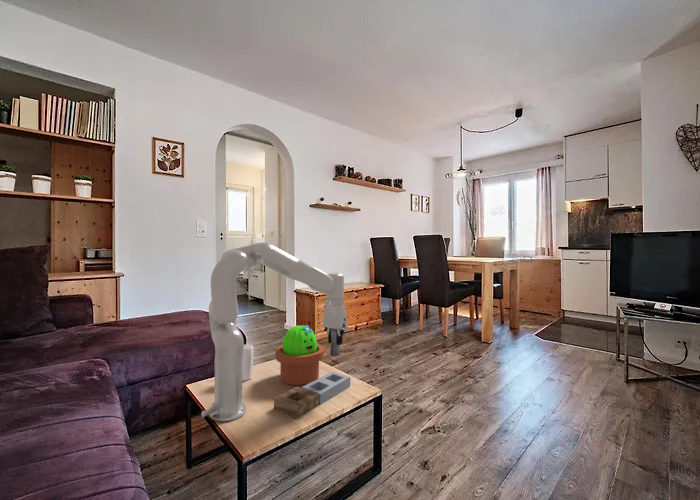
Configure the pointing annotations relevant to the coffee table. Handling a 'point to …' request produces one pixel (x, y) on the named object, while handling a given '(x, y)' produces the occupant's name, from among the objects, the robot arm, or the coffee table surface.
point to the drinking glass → (247, 362)
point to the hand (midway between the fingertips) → (335, 342)
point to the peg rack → (328, 386)
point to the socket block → (296, 402)
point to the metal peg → (334, 343)
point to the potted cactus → (299, 356)
